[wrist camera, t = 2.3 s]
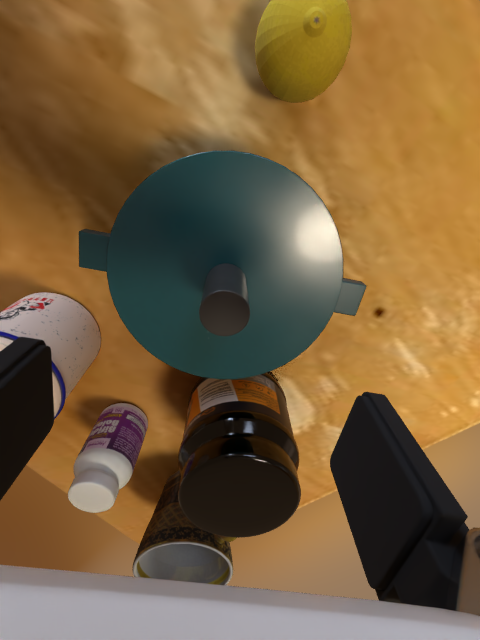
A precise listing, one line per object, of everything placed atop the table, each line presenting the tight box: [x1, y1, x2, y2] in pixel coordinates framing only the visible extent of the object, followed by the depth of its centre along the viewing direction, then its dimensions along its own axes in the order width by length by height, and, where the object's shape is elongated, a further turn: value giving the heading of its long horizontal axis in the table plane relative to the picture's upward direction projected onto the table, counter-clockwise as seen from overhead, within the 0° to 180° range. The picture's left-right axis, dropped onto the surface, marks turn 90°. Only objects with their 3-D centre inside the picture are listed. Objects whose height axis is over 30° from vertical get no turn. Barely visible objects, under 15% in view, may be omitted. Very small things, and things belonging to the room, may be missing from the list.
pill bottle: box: [68, 403, 148, 513], centre depth 32 cm, size 5×5×10 cm
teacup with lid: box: [0, 293, 101, 419], centre depth 27 cm, size 12×9×12 cm
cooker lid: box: [106, 151, 343, 379], centre depth 19 cm, size 15×15×6 cm
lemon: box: [255, 0, 352, 103], centre depth 19 cm, size 6×6×8 cm
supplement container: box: [178, 372, 301, 537], centre depth 30 cm, size 10×10×12 cm
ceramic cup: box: [133, 470, 237, 585], centre depth 36 cm, size 13×10×10 cm
